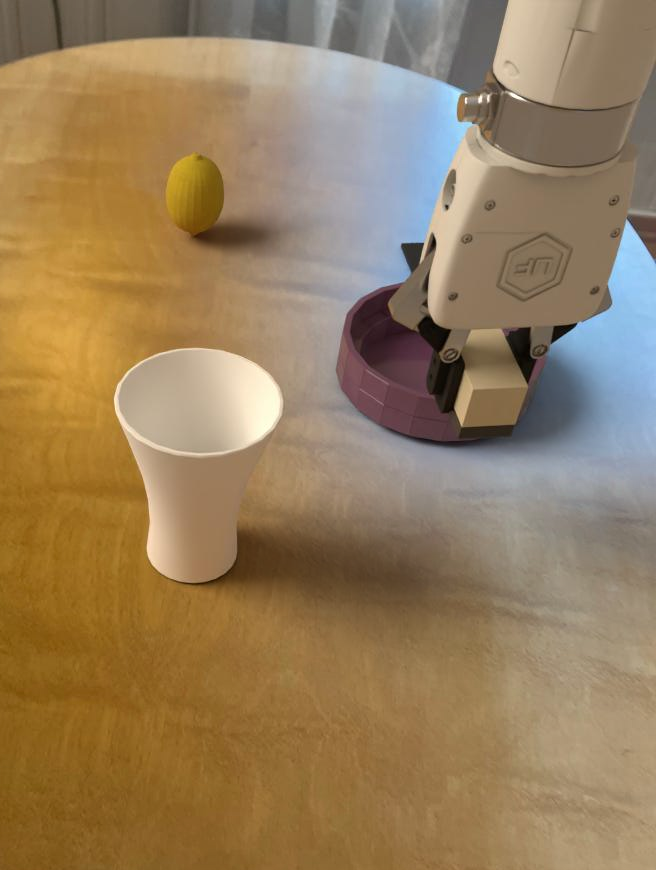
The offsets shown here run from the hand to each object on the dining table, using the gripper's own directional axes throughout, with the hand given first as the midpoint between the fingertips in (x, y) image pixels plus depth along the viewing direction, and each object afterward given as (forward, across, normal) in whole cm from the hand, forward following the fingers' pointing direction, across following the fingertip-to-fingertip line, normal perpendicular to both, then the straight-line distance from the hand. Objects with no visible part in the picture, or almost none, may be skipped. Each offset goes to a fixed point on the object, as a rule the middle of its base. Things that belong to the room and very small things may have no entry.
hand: (472, 396), depth 66 cm
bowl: (+11, +3, +16) cm, 19 cm away
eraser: (+1, 0, 0) cm, 1 cm away
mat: (+11, +11, +32) cm, 35 cm away
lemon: (+11, -14, +40) cm, 44 cm away
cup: (+11, -19, -2) cm, 22 cm away
